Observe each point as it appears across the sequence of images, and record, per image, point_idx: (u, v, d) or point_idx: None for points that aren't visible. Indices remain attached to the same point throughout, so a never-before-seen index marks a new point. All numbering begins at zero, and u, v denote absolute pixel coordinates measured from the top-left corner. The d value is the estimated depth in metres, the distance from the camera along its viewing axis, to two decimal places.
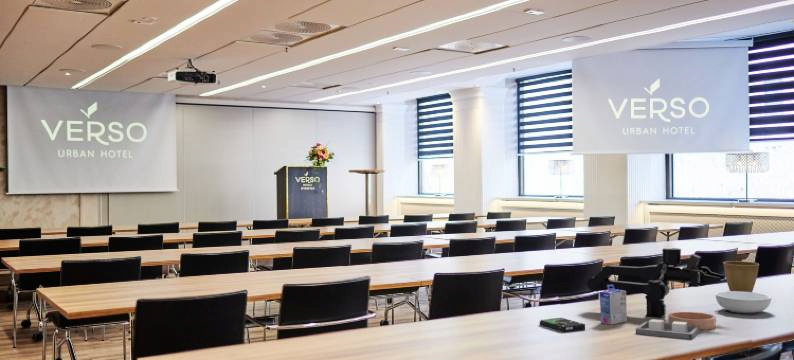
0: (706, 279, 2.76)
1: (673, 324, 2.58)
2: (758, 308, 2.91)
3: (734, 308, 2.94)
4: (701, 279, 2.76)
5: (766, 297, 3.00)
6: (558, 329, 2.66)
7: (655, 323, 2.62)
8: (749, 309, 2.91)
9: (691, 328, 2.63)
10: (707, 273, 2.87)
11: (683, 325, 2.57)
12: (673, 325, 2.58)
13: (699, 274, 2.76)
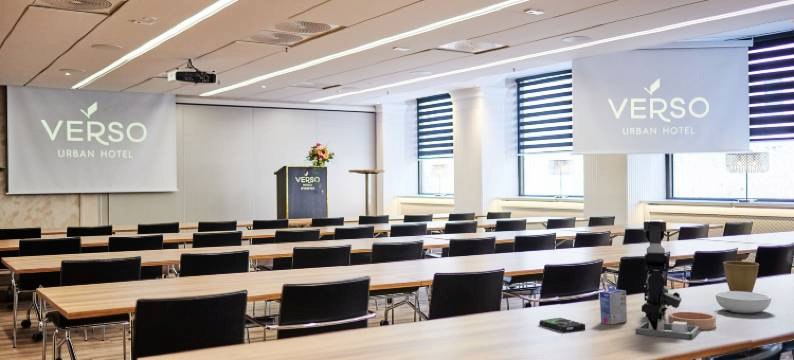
0: (653, 316, 2.61)
1: (673, 324, 2.58)
2: (758, 308, 2.91)
3: (734, 308, 2.94)
4: (652, 312, 2.60)
5: (766, 297, 3.00)
6: (558, 329, 2.66)
7: None
8: (749, 309, 2.91)
9: (691, 328, 2.63)
10: (660, 309, 2.66)
11: (683, 325, 2.57)
12: (673, 325, 2.58)
13: None
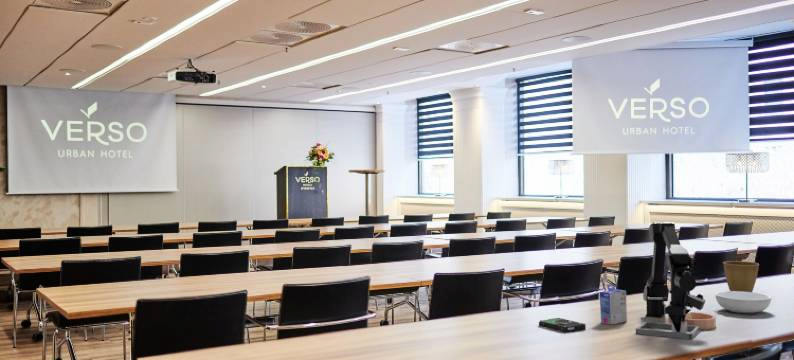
0: (676, 318, 2.56)
1: None
2: (758, 308, 2.91)
3: (734, 308, 2.94)
4: None
5: (766, 297, 3.00)
6: (560, 329, 2.65)
7: None
8: (749, 309, 2.91)
9: (691, 328, 2.63)
10: None
11: (683, 325, 2.57)
12: (673, 325, 2.58)
13: None
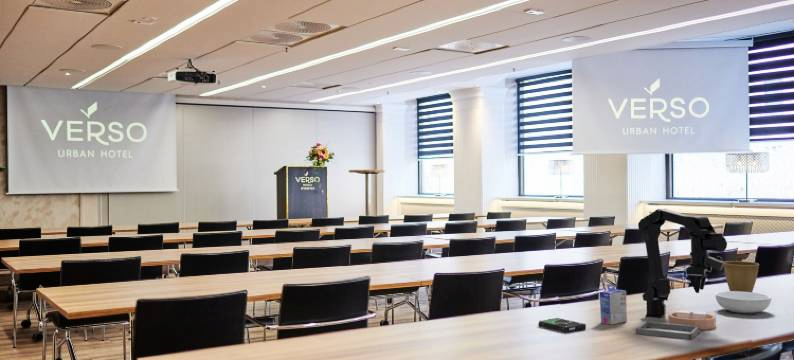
0: (695, 280, 2.68)
1: (694, 314, 2.72)
2: (758, 308, 2.91)
3: (734, 308, 2.94)
4: None
5: (766, 297, 3.00)
6: (561, 330, 2.65)
7: (683, 314, 2.74)
8: (749, 309, 2.91)
9: (691, 328, 2.63)
10: None
11: (703, 315, 2.70)
12: (694, 315, 2.71)
13: (700, 275, 2.65)
